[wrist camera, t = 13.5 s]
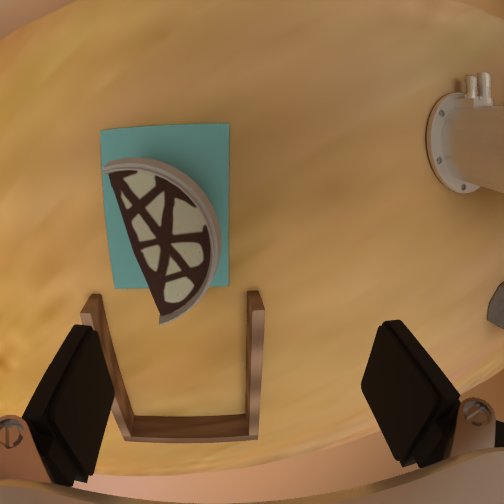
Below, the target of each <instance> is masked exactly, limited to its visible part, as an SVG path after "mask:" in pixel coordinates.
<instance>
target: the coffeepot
mask: <svg viewBox="0 0 504 504" xmlns="http://www.w3.org/2000/svg"><path fill="white" fill-rule="evenodd" d="M487 315H488V321H490V322H491V323H493V324H495V325H497V326H499V327H500V328H502V329H504V282H503V283H502V284H501V285H500V286H499V287H498V289H497V290H496V292H495V293H494V295H493V297H492V299H491V301H490V304H489V307H488V314H487Z"/></svg>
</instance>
